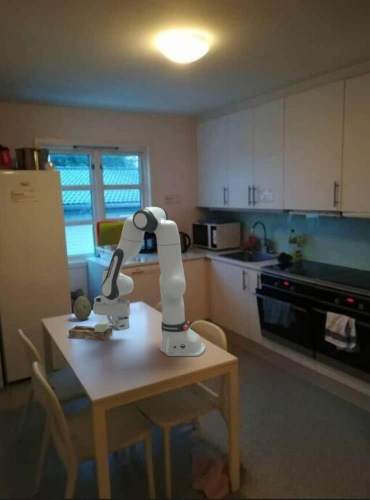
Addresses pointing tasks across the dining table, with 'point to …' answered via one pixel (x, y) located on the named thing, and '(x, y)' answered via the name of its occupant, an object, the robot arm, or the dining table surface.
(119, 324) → the light bulb box
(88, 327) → the beam
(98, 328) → the block
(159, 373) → the dining table surface
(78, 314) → the decorative egg
